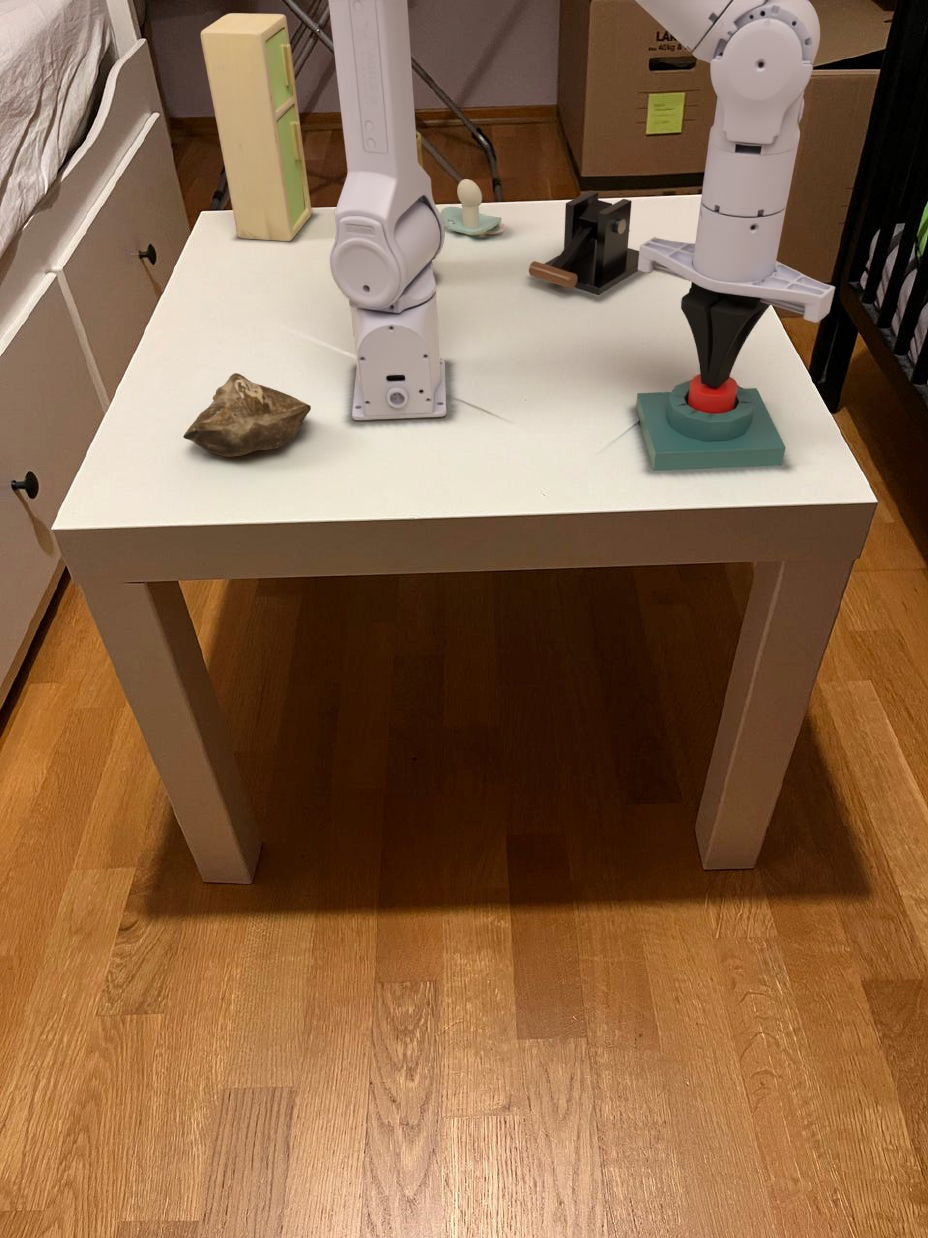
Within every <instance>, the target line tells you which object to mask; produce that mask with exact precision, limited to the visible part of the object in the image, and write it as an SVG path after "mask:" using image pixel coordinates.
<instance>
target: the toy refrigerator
mask: <svg viewBox="0 0 928 1238" xmlns="http://www.w3.org/2000/svg"><path fill="white" fill-rule="evenodd" d="M287 21H288V20H287V16H286V15H285V14H281V13H243V12H241V13H237V12H232V13H231V12H230V13H226V14H225V15H223V16H221V17H220V18H219V19H217V20H215V21H214V22H213V23H211V24H210V25H208V26H206V27H205V28H204V29H202V30H201V31H200V41H201V47H202V51H203V57H204V62H205V68H206V73H207V80H208V85H209V89H210V94H211V99H212V105H213V110H214V116H215V120H216V126H217V131H218V137H219V144H220V147H221V149H220V150H221V153H222V159H223V164H224V171H225V176H226V180H227V181H226V182H227V185H228V192H229V197H230V202H231V207H232V213H233V219H234V223H235V229H236V233H237V236H238V238H239V239H243V240H245V239H248V240H263V241H280V242H291V241H292V240H293V239H294V238H295V237H296V235H298V233H299V232H300V231H301V229H302V228H303V226H304V225H305V224H306V223H307V222H308V220H309V219H311V216H312V205H311V197H310V191H309V184H308V182H309V181H308V175H307V169H306V160H305V154H304V146H303V136H302V131H301V123H300V122H301V121H300V114H299V113H300V112H299V107H298V98H297V90H296V78H295V70H294V62H293V55H292V47H291V44H290V43H291V42H290V36H289V29H288V22H287Z"/></svg>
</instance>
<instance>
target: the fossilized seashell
mask: <svg viewBox="0 0 928 1238" xmlns="http://www.w3.org/2000/svg"><path fill="white" fill-rule="evenodd" d="M212 400H213V401H212V402H211V404H210V405H208V407H207V408H205V409H204V410H203V411H201V412H200V413H199V414H198V416H197V417H196V419H195V420H194V422H193V423H192V424H191V425H190V426H189V427H188V429H187V430H186V431H185V433H184V434H183V439H185V440H188V441H191V442H193V443H194V444H196V445H197V446H199V447H201V448H202V449H204V450H206V452H209V453H212V454H215V455H219V456H222V457H241V456H244V455H247V454H251V453H253V452H255V451H261V450H262V451H263V450H264V451H267V450H273V449H275V450H276V449H278V448H280V447H282V446H283V445H286V444H287V443H288V442H290V441H291V440H292V439H294V437H295V436H296V435H297V434H298V433H299V431H300V429H301V427H302V425H303V423H304V421H305V419H306V417H307V415H308V414H309V413H310V412H311V409H312V408H311V405H309V404H308V403H305V401H302V400H300V399H298V398H297V397H294V396H292V395H290V394H288V393H285V392H282V391H280V390H277V389H273V388H271V387H268V386H265V385H263V384H259V383H255V382H252V381H251V380H249V379H248V378H246V377H245V376H244V375H242V374H240V373H238V372H237V373H236V372H234V373H232V374H231V375H230V376H229V377H228V379H227V380H226V382H225V383H224V384H223V385H222V386H219V387H218V388H216V391H215V394H213V396H212Z"/></svg>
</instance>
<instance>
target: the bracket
mask: <svg viewBox="0 0 928 1238" xmlns="http://www.w3.org/2000/svg"><path fill="white" fill-rule="evenodd" d="M594 199H597V200H599V192H598V191H596V190H588V191H587V192H585V193H583V194H580V195H579V196H577V197H574V198H573V199H571V200H569V201H567V202H565V213H564V233H563V234H564V235H563V236H564V237H563V238H564V239H563V250H564V249H565V248H566V247H567V246H568V244H569V243H570V242H571V241H572V239H573V238H574V237H575V236H576V235H577V233H578V232H579V231H580V230H581V224H580V219H579V217H580V216H581V215H582V213H583V212H584V211H585V210H586V208H587V207H588V206H589V205H590V204H591V202H592V201H593V200H594ZM632 203H633V201H632V200H630V199H626V198H622V199H620V200H619V201H617V202H615V203H612V205H611V206H609V207H607V208H605V209H604V210H602V211H600V212H599V214H598V230H597V240H595V239H591V240H590V241H589V242H588V244H587V245H586V246H585V247H584V249H583V250H582V251H581V252H580V253H579V255H578V256H577V257H576V258H575V260H574V261H573V262H572V263H571V265H570V266H569V267H568V268H567V269H566V271H568V272H571V273H574V274H576V275H577V283H576V285H575V287H574V288H573V289H577V290H581V291H583V292H587V293H590V294H593V295H596V296H600V295H601V294H603V293H605V292H607V291H608V290H610V289H612V288H613V287H615V286H616V285H618V284H620V283H621V282H622V281H625V280H626V279H628V278H629V277H631V276H633V275H634V274H636V273H637V272H639V270H638V261H639V250H637V249H634V248H631V247H629V240H630V239H629V237H630V227H631V215H632V214H631V213H632ZM558 257H559V255H557V256H555V257H554V258H552V259H550V260H548V261H546V262H545V263H543V264H546V265H549V266H551V265H552V264H553V263H554V261H555V260H556V259H557V258H558Z"/></svg>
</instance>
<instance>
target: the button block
mask: <svg viewBox="0 0 928 1238" xmlns="http://www.w3.org/2000/svg"><path fill="white" fill-rule="evenodd" d="M691 380H692V379H689V380H687V381H684V382H682V383H679V384H676V385H675V386H674V387H673V389H672V390H671V391H656V392H654V391H653V392H637V394H636V401H635V402H636V403H635V407H636V411H637V414H638V418H639V420H638V423H639V427H640V430H641V433H642V436H643V440H644V443H645V447H646V450H647V453H648V456H649V460H650V463H651V466H652V467H651V468H652V470H653V472H657V471H658V472H659V471H679V470H681V471H684V470H705V469H706V470H707V469H728V468H730V469H731V468H749V467H750V468H751V467H772V466H773V467H774V466H776V467H777V466H782V465H783V460H784V456H785V452H786V445H785V443H784V442H783V439H782V438H781V435H780V433H779V431H778V429H777V427H776V425H775V423H774V421H773V419H772V417H771V415H770V413H769V411H768V408H767V405H766V404H765V403H764V400H763V398H762V396H761V394H760V392H759V390H758V388H757V387H750V388H749V387H748V388H746V387H745V388H744V387H743V386H741V385H739V384H737V385H738V388H737V393H736V399H735V404H734V408H733V409H732V410H731V411H729V412H726V413H718V414H710V413H705V412H701V411H697V410H695V409H693V408H692V407H690V406H689V404H688V397H689V390H690V383H691Z"/></svg>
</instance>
